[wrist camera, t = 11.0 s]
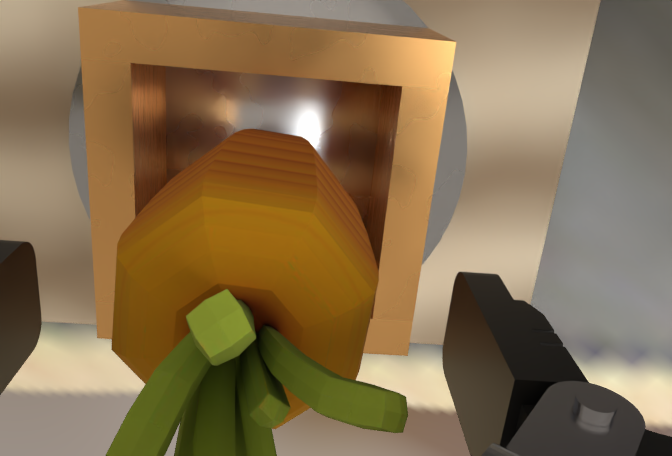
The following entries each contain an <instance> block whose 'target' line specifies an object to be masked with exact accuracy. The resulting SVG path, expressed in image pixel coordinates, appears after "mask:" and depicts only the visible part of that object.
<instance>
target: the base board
mask: <svg viewBox="0 0 672 456" xmlns="http://www.w3.org/2000/svg"><path fill="white" fill-rule="evenodd" d="M115 1H121V0H0V240H10V241H25V242H29V243H31V244H32V246H33V248H34V251H35V256H36V266H37V276H38V286H39V296H40V306H41V318H42V319H41V321H44V322H61V323H79V324H96V325H97V321H96V304H95V287H94V271H93V254H92V237H91V221H90V219H89V217H88V215H87V212H86V210H85V208H84V205H83V203H82V201H81V198H80V196H79V193H78V189H77V185H76V182H75V178H74V175H73V171H72V164H71V157H70V149H69V116H70V108H71V101H72V94H73V90H74V87H75V84H76V80H77V77H78V73H79V70H80V67H81V51H80V34H79V17H78V7H83V6H90V5H96V4H102V3H109V2H115ZM403 1H404V2H405V3H406V4H408V5H409V6H410V7H411V8H412V9H413V11H414V12H415V13H416V14H417V15H418V16H419V18H420V19H421V20H422V21H423V22H424V23H425V25H426V26H427V27H428V28H429V29H431V30H434V31H436V32H438V33H440V34H442V35H444V36H446V37H448V38H450V39H452V40H454V41H456V47H455V53H454V60H453V66H452V71H453V73H454V75H455V78H456V82H457V85H458V88H459V91H460V95H461V98H462V101H463V107H464V114H465V120H466V126H467V158H466V168H465V176H464V181H463V185H462V189H461V193H460V197H459V201H458V203H457V206H456V208H455V211H454V214H453V216H452V219H451V221H450V223H449V225H448V227H447V229H446V231H445V232H444V234H443V236H442V238H441V240H440V242H439V243H438V245H437V246H436V247H435V249H434V250H433V252H432V253H431V254H430V256H429V257H428V258H427V260H426V261H425V262H424V263H423V264H422V266H421V272H420V279H419V285H418V292H417V298H416V305H415V311H414V317H413V324H412V330H411V337H410V343H422V344H439V345H443V342H444V336H445V331H446V325H447V319H448V314H449V308H450V302H451V297H452V291H453V286H454V281H455V278H456V275H457V274H458V272H475V273H489V274H498V275H499V276H500V278H501V279H502V281H503V283H504V284H505V286H506V288H507V289H508V291H509V293H510V294H511V296H512V298H513V299H514V300H524V301H526V302H527V303H528V304H530V302H531V298H532V294H533V290H534V285H535V281H536V277H537V272H538V268H539V264H540V259H541V255H542V251H543V246H544V242H545V238H546V234H547V229H548V225H549V221H550V216H551V212H552V208H553V203H554V199H555V195H556V190H557V186H558V182H559V178H560V173H561V169H562V165H563V160H564V156H565V152H566V147H567V143H568V139H569V134H570V130H571V126H572V121H573V117H574V113H575V109H576V104H577V100H578V96H579V91H580V87H581V83H582V78H583V74H584V70H585V65H586V61H587V57H588V53H589V48H590V44H591V40H592V35H593V31H594V27H595V22H596V18H597V14H598V9H599V5H600V1H601V0H403Z"/></svg>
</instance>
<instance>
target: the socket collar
mask: <svg viewBox="0 0 672 456" xmlns="http://www.w3.org/2000/svg"><path fill="white" fill-rule="evenodd" d="M78 17H79V34H80V51H81V67H80V70H79V73H78V77H77V80H76V84H75V87H74V90H73V94H72V101H71V108H70V116H69V149H70V157H71V164H72V171H73V175H74V178H75V182H76V185H77V189H78V193H79V196H80V198H81V201H82V203H83V205H84V208H85V210H86V212H87V215H88V217H89V219H90V221H91V237H92V254H93V271H94V287H95V304H96V321H97V338H105V339H112V329H113V311H114V293H115V275H116V257H117V243H118V241H119V239H120V237H121V234H122V233H123V232H124V231H125V230H126V228H127V227H128V226H129V225H130V224H131V223H132V221H133V220H134V219H135V218H136V217H137V215H138V214H139V213H140V212H141V211H142V210H143V208H144V207H145V206H146V205H147V204H148V203H149V201H150V200H151V199H152V198H153V197H154V196H155V195H156V194H157V193H158V192H159V191H160V190H161V189H162V188H163V187H164V186H165V185H166V184H167V183H168V182H169V181H170V180H171V179H172V178H173V177H174V176H176V175H177V174H178V173H180V172H181V171H183V170H184V169H185V168H187V167H188V166H189V165H191V164H192V163H194V162H195V161H196V160H198V159H199V158H200V157H202V156H203V155H205V154H206V153H207V152H209V151H210V150H211V149H213V148H214V147H216V146H217V145H218V144H220V143H221V142H222V141H224V140H225V139H227V138H228V137H229V136H231V135H232V134H233V133H235V132H238V131H240V130H243V129H251V128H253V129H259V130H265V131H271V132H277V133H283V134H290V135H296V136H302V137H303V138H305V139H307V140H308V141H309V142H310V143H311V145H312V146H313V147H314V148H315V150H316V151H317V153H318V154H319V155H320V157H321V158H322V159H323V161H324V162H325V163H326V165H327V166H328V167H329V169H330V170H331V172H332V173H333V174H334V176H335V177H336V178H337V180H338V181H339V182H340V184H341V185H342V187H343V188H344V189H345V191H346V192H347V193H348V195H349V196H350V197H351V199H352V200H353V201H354V203H355V204H356V206H357V208H358V211H359V213H360V216H361V218H362V221H363V224H364V226H365V229H366V231H367V234H368V237H369V241H370V244H371V247H372V251H373V254H374V257H375V261H376V264H377V267H378V271H379V282H378V287H377V291H376V296H375V300H374V305H373V310H372V314H371V319H370V323H369V328H368V332H367V337H366V341H365V346H364V351H363V353H369V354H387V355H404V356H408V350H409V343H410V337H411V330H412V324H413V317H414V311H415V305H416V298H417V292H418V285H419V279H420V272H421V266H422V264H423V263H424V262H425V261H426V260H427V258H428V257H429V256H430V254H431V253H432V252H433V250H434V249H435V247H436V246H437V245H438V243H439V242H440V240H441V238H442V236H443V234H444V232H445V231H446V229H447V227H448V225H449V223H450V221H451V219H452V216H453V214H454V211H455V208H456V206H457V203H458V201H459V197H460V193H461V189H462V185H463V181H464V176H465V168H466V158H467V126H466V120H465V114H464V107H463V101H462V98H461V95H460V91H459V88H458V85H457V82H456V78H455V75H454V73H453V71H452V66H453V60H454V53H455V47H456V41H454V40H452V39H450V38H448V37H446V36H444V35H442V34H440V33H438V32H436V31H434V30H431V29H429V28H428V27H427V26H426V25H425V23H424V22H423V21H422V20H421V19H420V18H419V16H418V15H417V14H416V13H415V12H414V11H413V9H412V8H411V7H410V6H409V5H408V4H406V3H405V2H404V1H403V0H121V1H115V2H109V3H102V4H96V5H90V6H83V7H78Z"/></svg>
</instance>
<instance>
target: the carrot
mask: <svg viewBox="0 0 672 456" xmlns="http://www.w3.org/2000/svg"><path fill="white" fill-rule="evenodd" d="M378 282H379V271H378V267H377V264H376V261H375V257H374V254H373V251H372V247H371V244H370V241H369V237H368V234H367V231H366V229H365V226H364V224H363V221H362V218H361V216H360V213H359V211H358V208H357V206H356V204H355V203H354V201H353V200H352V199H351V197H350V196H349V195H348V193H347V192H346V191H345V189H344V188H343V187H342V185H341V184H340V182H339V181H338V180H337V178H336V177H335V176H334V174H333V173H332V172H331V170H330V169H329V167H328V166H327V165H326V163H325V162H324V161H323V159H322V158H321V157H320V155H319V154H318V153H317V151H316V150H315V148H314V147H313V146H312V145H311V143H310V142H309V141H308V140H307V139H305V138H303V137H302V136H296V135H290V134H283V133H277V132H271V131H265V130H259V129H253V128H251V129H243V130H240V131H238V132H235V133H233V134H232V135H231V136H229V137H228V138H227V139H225V140H224V141H222V142H221V143H220V144H218V145H217V146H216V147H214V148H213V149H211V150H210V151H209V152H207V153H206V154H205V155H203V156H202V157H200V158H199V159H198V160H196V161H195V162H194V163H192V164H191V165H189V166H188V167H187V168H185V169H184V170H183V171H181V172H180V173H178V174H177V175H176V176H174V177H173V178H172V179H171V180H170V181H169V182H168V183H167V184H166V185H165V186H164V187H163V188H162V189H161V190H160V191H159V192H158V193H157V194H156V195H155V196H154V197H153V198H152V199H151V200H150V201H149V203H148V204H147V205H146V206H145V207H144V208H143V210H142V211H141V212H140V213H139V214H138V215H137V217H136V218H135V219H134V220H133V221H132V223H131V224H130V225H129V226H128V227H127V228H126V230H125V231H124V232H123V233H122V234H121V237H120V239H119V241H118V243H117V257H116V275H115V293H114V311H113V329H112V350H113V351H114V352H115V353H116V354H117V355H118V357H119V358H120V359H121V360H122V361H123V362H124V363H125V364H126V365H127V366H128V367H129V368H130V369H131V370H132V371H133V372H134V373H135V374H136V375H137V376H138V377H139V378H140V379H141V380H142V381H143V382H144V383H145V384H146V385H145V386H144V388H143V389H142V391H141V393H140V394H139V396H138V397H137V399H136V401H135V402H134V404H133V405H132V407H131V409H130V410H129V412H128V413H127V415H126V417H125V419H124V421H123V423H122V425H121V427H120V429H119V431H118V433H117V435H116V436H115V438H114V441H113V442H112V444H111V446H110V448H109V450H108V452H107V454H106V456H164V455H165V453H166V451H167V449H168V447H169V445H170V443H171V440H172V438H173V436H174V434H175V432H176V429H177V427H178V425H179V423H180V426H179V432H178V437H177V443H176V448H175V453H174V456H277V455H276V450H275V444H274V439H273V434H272V429H276V428H278V427H280V426H282V425H283V424H285V423H286V422H288V421H290V420H291V419H293V418H295V417H296V416H298V415H300V414H301V413H303V412H304V411H306V410H308V409H309V408H312V409H313V410H315V411H316V412H318V413H320V414H322V415H324V416H326V417H328V418H332V419H334V420H338V421H341V422H344V423H347V424H350V425H354V426H357V427H360V428H363V429H370V430H378V431H386V432H393V433H401V432H403V430H404V427H405V423H406V420H407V417H408V411H407V402H406V397H405V396H403V395H401V394H399V393H397V392H394V391H390V390H387V389H384V388H381V387H378V386H375V385H372V384H368V383H364V382H360V381H356V377H357V375H358V372H359V369H360V364H361V360H362V355H363V351H364V346H365V341H366V337H367V332H368V328H369V323H370V319H371V314H372V310H373V305H374V300H375V296H376V291H377V287H378ZM271 428H272V429H271Z"/></svg>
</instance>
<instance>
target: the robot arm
mask: <svg viewBox="0 0 672 456" xmlns="http://www.w3.org/2000/svg"><path fill="white" fill-rule="evenodd" d="M41 319H42V318H41V306H40V296H39V286H38V276H37V266H36V256H35V251H34V248H33V246H32V244H31V243H29V242H25V241H10V240H0V395H1V393H2V392H3V391H4V389H5V388H6V387H7V385H8V384H9V383H10V381H11V380H12V379H13V377H14V376H15V374H16V373H17V372H18V370H19V369H20V368H21V366H22V365H23V364H24V362H25V361H26V360H27V358H28V357H29V356H30V354H31V353H32V352H33V350H34V348H35V347H36V345H37V342H38V339H39V335H40V331H41ZM443 369H444V374H445V377H446V380H447V384H448V387H449V390H450V393H451V396H452V399H453V402H454V405H455V409H456V412H457V415H458V418H459V421H460V424H461V427H462V430H463V433H464V436H465V440H466V443H467V446H468V449H469V452H470V455H471V456H672V437H670V436H666V435H662V434H658V433H655V432H652V431H649V430H646V429H645V421H644V419H643V416H642V415H641V413H640V412H639V410H638V409H637V408H636V407H635V406H634V405H633V404H631V403H630V402H629V401H628V400H626V399H625V398H624V397H622V396H620V395H619V394H617V393H615V392H613V391H611V390H609V389H607V388H604V387H601V386H598V385H595V384H591V383H589V382H588V381H587V379H586V378H585V376H584V375H583V373H582V372H581V370H580V369H579V367H578V366H577V364H576V363H575V361H574V360H573V358H572V357H571V355H570V354H569V352H568V351H567V349H566V348H565V347H563V343H562V342H561V340H560V339H559V337H558V336H557V334H554V330H553V328H552V327H551V325H550V324H549V322H548V321H547V319H546V317H545V316H544V315H543V314H542V313H541V312H539V311H538V310H536V309H535V308H534V307H532V306H531V305H530V304H528V303H527V302H526V301H524V300H514V299H513V298H512V296H511V294H510V293H509V291H508V289H507V288H506V286H505V284H504V283H503V281H502V279H501V278H500V276H499V275H498V274H489V273H475V272H458V274H457V275H456V278H455V281H454V286H453V291H452V297H451V302H450V308H449V314H448V319H447V325H446V331H445V336H444V342H443Z"/></svg>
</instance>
